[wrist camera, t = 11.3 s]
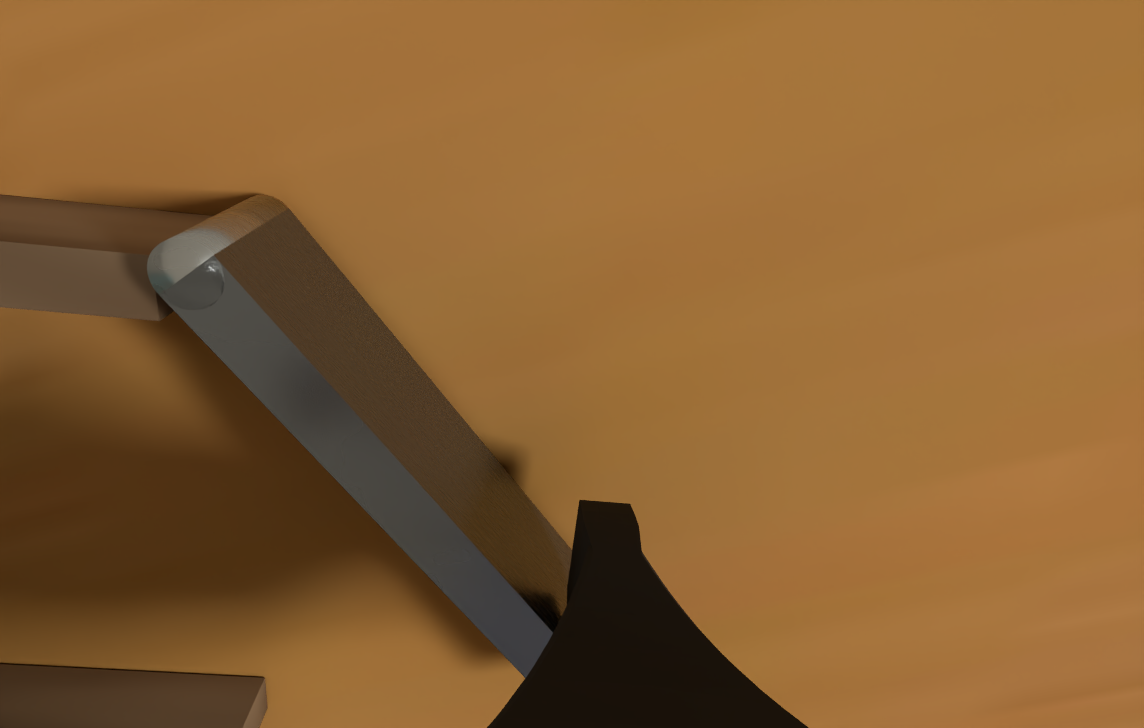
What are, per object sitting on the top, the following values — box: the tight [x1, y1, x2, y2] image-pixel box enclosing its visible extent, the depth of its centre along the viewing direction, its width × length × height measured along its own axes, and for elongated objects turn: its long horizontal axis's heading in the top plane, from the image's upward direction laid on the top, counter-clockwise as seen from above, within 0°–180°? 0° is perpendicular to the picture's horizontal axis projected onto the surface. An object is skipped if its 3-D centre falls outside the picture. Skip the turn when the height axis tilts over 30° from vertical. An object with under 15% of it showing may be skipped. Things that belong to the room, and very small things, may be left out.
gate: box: [147, 195, 572, 678], centre depth 13 cm, size 12×1×3 cm, turn 33°
